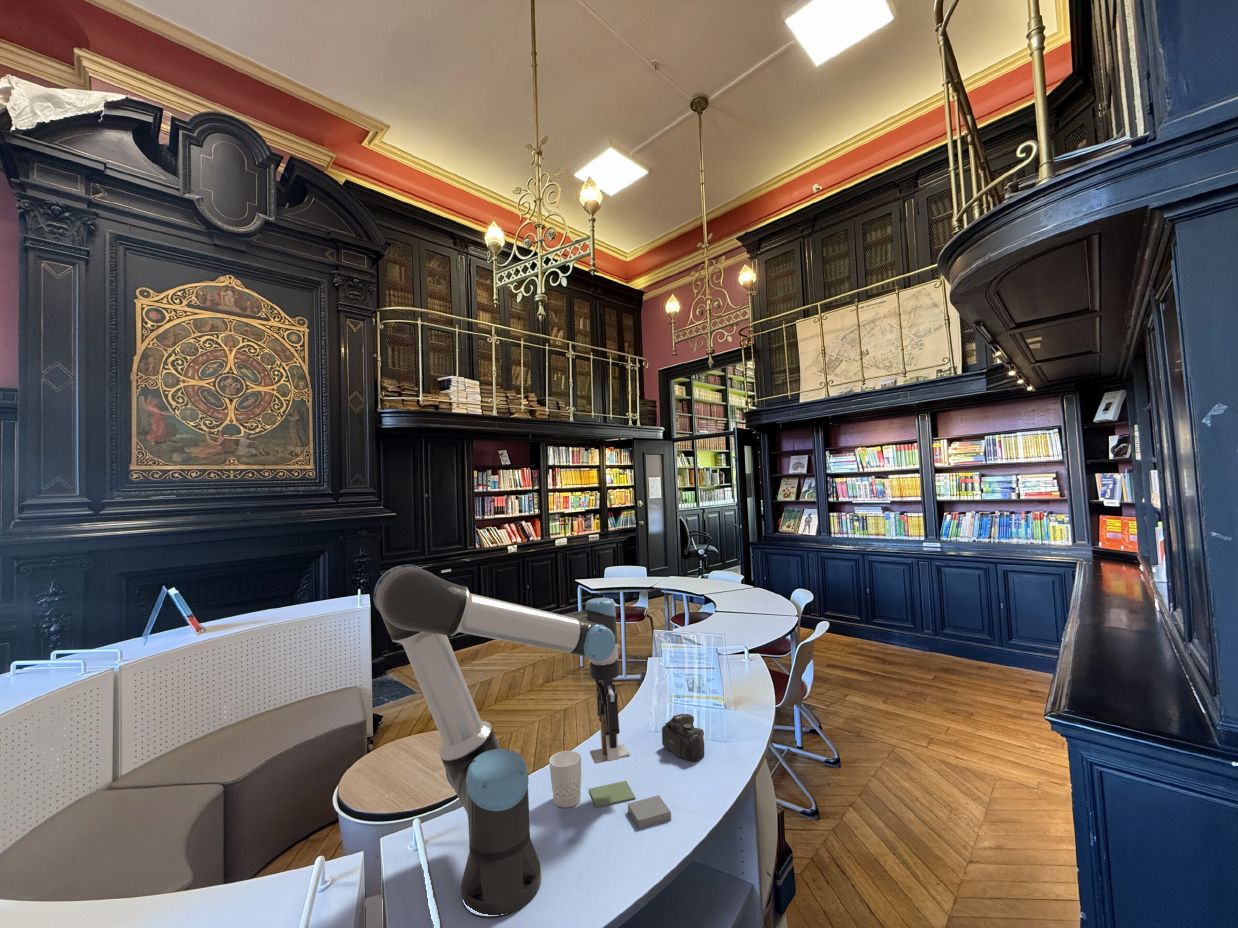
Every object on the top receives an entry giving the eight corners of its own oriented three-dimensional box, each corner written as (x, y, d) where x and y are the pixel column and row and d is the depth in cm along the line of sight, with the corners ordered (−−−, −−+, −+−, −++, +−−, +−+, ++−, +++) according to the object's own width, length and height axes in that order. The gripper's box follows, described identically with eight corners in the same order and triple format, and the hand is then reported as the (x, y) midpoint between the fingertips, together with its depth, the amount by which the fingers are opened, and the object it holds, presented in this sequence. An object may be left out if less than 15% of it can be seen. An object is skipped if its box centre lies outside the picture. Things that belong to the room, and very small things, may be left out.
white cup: (589, 797, 127) (587, 756, 127) (565, 813, 121) (563, 769, 122) (568, 787, 132) (566, 747, 133) (544, 801, 126) (542, 760, 127)
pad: (596, 807, 122) (595, 806, 122) (589, 790, 130) (588, 788, 130) (635, 798, 125) (635, 797, 125) (626, 781, 133) (626, 780, 133)
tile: (628, 812, 120) (638, 830, 114) (627, 803, 121) (638, 820, 114) (659, 804, 123) (671, 820, 116) (658, 795, 123) (670, 811, 116)
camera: (712, 749, 147) (709, 714, 148) (696, 765, 139) (694, 727, 140) (672, 739, 155) (670, 705, 156) (655, 753, 147) (653, 718, 148)
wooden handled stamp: (594, 763, 125) (592, 723, 125) (590, 753, 130) (587, 714, 131) (629, 756, 127) (627, 716, 128) (623, 746, 132) (621, 708, 133)
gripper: (628, 668, 122) (635, 768, 121) (609, 648, 140) (614, 735, 138) (598, 673, 120) (604, 775, 119) (582, 652, 138) (587, 740, 136)
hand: (610, 753), depth 128 cm, fingers closed on wooden handled stamp, 5 cm apart
